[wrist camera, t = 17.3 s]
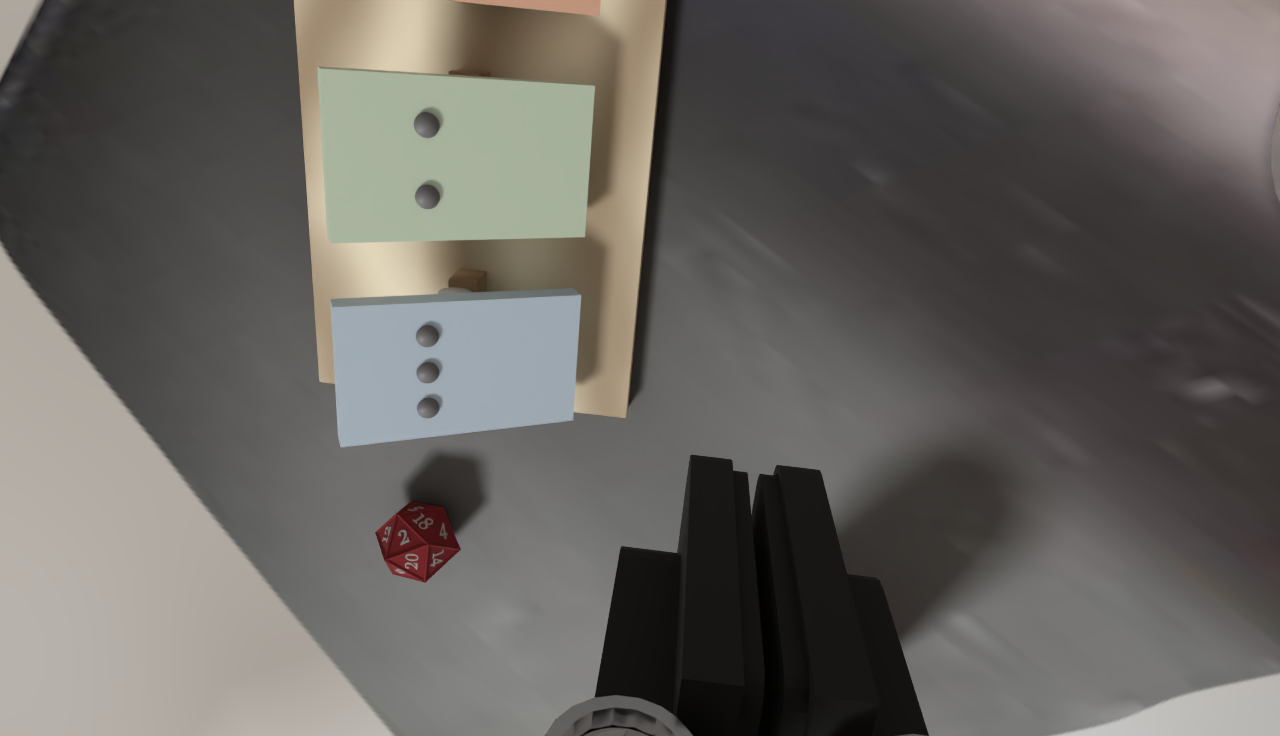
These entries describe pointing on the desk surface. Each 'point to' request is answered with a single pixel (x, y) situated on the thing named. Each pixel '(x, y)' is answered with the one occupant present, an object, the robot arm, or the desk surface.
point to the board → (593, 265)
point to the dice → (417, 541)
